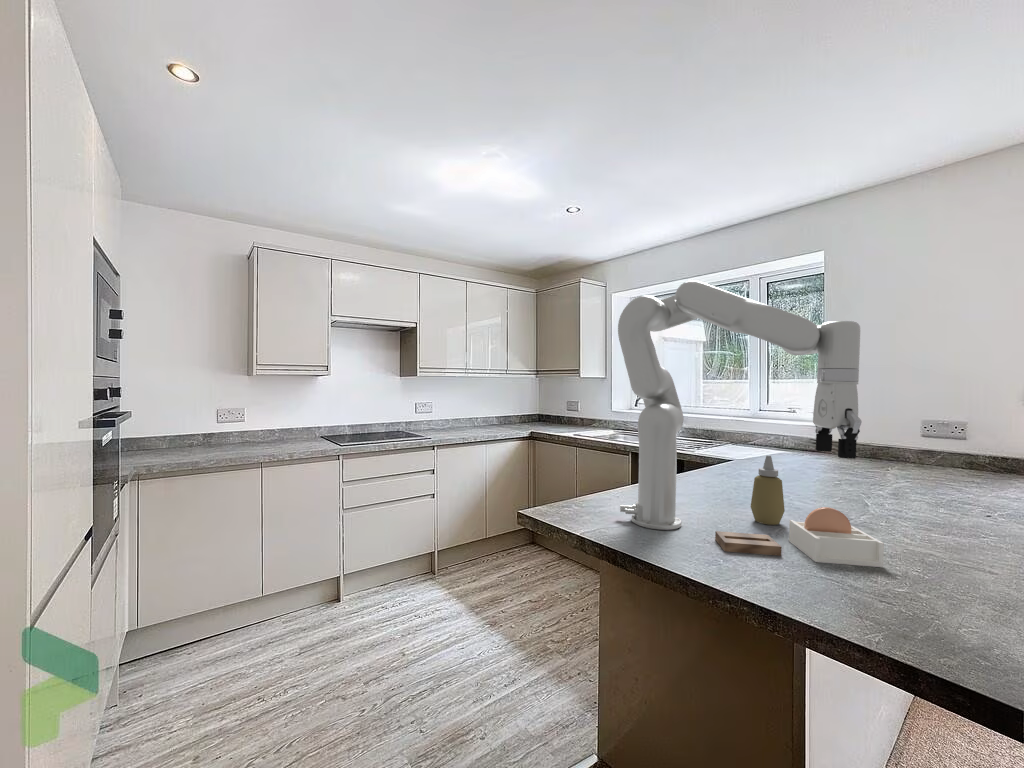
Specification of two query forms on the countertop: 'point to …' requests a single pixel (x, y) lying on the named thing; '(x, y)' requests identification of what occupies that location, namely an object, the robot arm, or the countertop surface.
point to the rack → (837, 546)
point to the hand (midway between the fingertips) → (834, 454)
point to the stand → (747, 543)
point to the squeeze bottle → (767, 495)
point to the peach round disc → (827, 521)
